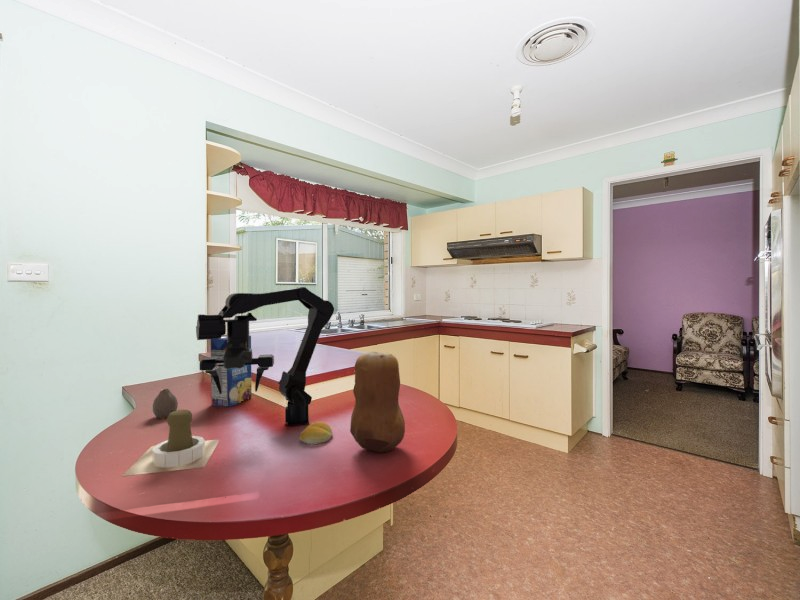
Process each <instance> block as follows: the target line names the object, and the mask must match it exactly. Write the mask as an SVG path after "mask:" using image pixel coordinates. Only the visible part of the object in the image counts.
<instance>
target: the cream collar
mask: <svg viewBox="0 0 800 600" xmlns="http://www.w3.org/2000/svg"><path fill="white" fill-rule="evenodd" d="M192 439H193V445H194V446H193V447H191V448H189V449H185V450H181V451H175V452H167V445H168V439H167V440H165V441H162V442H159V443H158V444H156V445H154V446H155V447H154V448H153V449H152V455H153V464H154V465H155V466H156V467H163V468H165V467H166V468H168V467H177V466H182V465H185V464H188V463H192V462H194V461H196V460H198V459H199V458H201V457H202V456H203V455H204V453H205V441H206V440H205V438H204V437H203V436H198V435H197V436H196V435H192Z"/></svg>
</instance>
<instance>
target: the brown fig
mask: <svg viewBox="0 0 800 600" xmlns="http://www.w3.org/2000/svg"><path fill="white" fill-rule="evenodd" d="M178 404H179V402H178V398H177V397H176V396H175V395H174V393H172V391H171V390H170V388H164V389H160V391H159V393H158V395H157V396H156V397H155V398H154V400H153V403H152V412H153V415H154V416H155V417H157V418H158V419H167V417H168V415H169V414H170V413H172V412H174V411H177V410H178V407H179V406H178Z"/></svg>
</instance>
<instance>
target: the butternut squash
mask: <svg viewBox="0 0 800 600" xmlns="http://www.w3.org/2000/svg"><path fill="white" fill-rule="evenodd" d="M400 387H401V376H400V367H399V361H398V358H397V357H396V356H395V355H393V354H391V353H389V352H388V353H387V352H385V353H383V352H378V351H367V352H364V353H362V354H360V355H359V356H358V357H357V358H356V360H355V363H354V387H353V390H352V391H353V397H354V398H355V401H354V403H355V404H354V407H353V409H352V412H351V416H350V431H349V433H350V434H351V435H352V437H353V439H354V440H355V442H356V444H358V445H359V447H361V448H362V449H364V450H367V451H372V452H375V453H377V454H380V453H387V452H389V451H391V450H393V449H394V448H396V447H397V446H399V445H400V444H401V442H402V441H403V439H404V437H405V434H406V433H405V432H406V431H405V430H406V421H405V417H404V414H403V412H402V409H401V407H400V404H399V393H400Z"/></svg>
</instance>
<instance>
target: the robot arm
mask: <svg viewBox="0 0 800 600" xmlns="http://www.w3.org/2000/svg"><path fill="white" fill-rule="evenodd" d="M294 301H298V302H299V303H300V304H302V305H303V306H304V308H305V309H308V314H307V327H306V329H305V332H304V333H303V337H302V340H301V343H300V345H299V348H298V350H297V352H296V355H295V358H294V361H293V363H292V366H291V367H290V369H289V370H288V371H287V372H286V371H284V370H283V371H282V373H281V378H280V379H279V380H278V382H277V384H278V391H279V393H280V395H282V396H283V397H284V398H285V401H287V404H286V405H287V406H285V408H284V410H285V413H284V414H285V423H286V426H287V427H290V426H291V427H292V425H293V426H300V425H302V426H303V425H310V417H309V414H310V413H309V405H310V404H311V402H312V399H313V396H311V395H310V394H309V393H307V392H306V391H305V389H306V384H307V371H308V367H309V365H310V363H311V359H312V357H313V355H314V352H315V350H316V346H317V343H318V341H319V338H320V335H321V333H322V331H323V328H325V327H326V325H327V324H328V323H329V322H330V321H331V319H332V316H333V315H334V313H335V307H334V305H333V303H332V302H331V301H330V300H327V299H326V300H325V299H324V298H321V297H320V296H319V295H317V294H315V293H314V292H312V291H310V290H309V289H308V288H307V287H306V286H298V287H295V288H290V289H289V288H288V289H283V290H274V291H270V292H261V293H255V292H254V293H253V292H251V293H248V292H246V293H244V292H241V293H239V292H234V293H231V294H229V295H228V296H227V297H226V299H225V305H224V306H223V308H222V309H221V310H220V311H219V312H218V314H202V313H201V314H197V321H196V326H195V333H196V334H195V335H196V340H197V341H204V340H205V341H206V340H211V339H221V337H224V335H226V336H227V349H226V352H225V354H224V359H221V360H220V358H219V357H211V356H206V357H204V358H203V359H201V361H200V362H199V371H204V372H205V374H209V375H210V377H211V376H212V377H213V379H214V381H215V383H216V385H217V388H218V390H219V393H220V394H222V389H223V386H222V373H221V367H219V366H224V368H226V369H230V368H242V367H244V365H251V366H253V365H255V366H256V365H257V368H256V376H255V377H256V378H255V384H254V385H255V386H254V391H255V392H258V389H259V386H260V382H261V380H262V376H263V375H264V372H265V371H267V370H268V371H269V369H270V368H272V367H274V364H275V356H274V355H273V354H259V355H258V357H253V350H252V348H251V349H249V336H250V322H256V321H257V320H258V319H257V317H255V316H254V315H253V314H252V313H251V312H252V311H255V310H256V309H259V308H262V307H264V306H265V307H266V306H271V305H277V304H282V303H289V302H294ZM246 313H247V314H246ZM239 314H240V315H239ZM244 314H246V315H244ZM233 317H234V318H233ZM231 318H232V319H231ZM226 333H227V334H226Z"/></svg>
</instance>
